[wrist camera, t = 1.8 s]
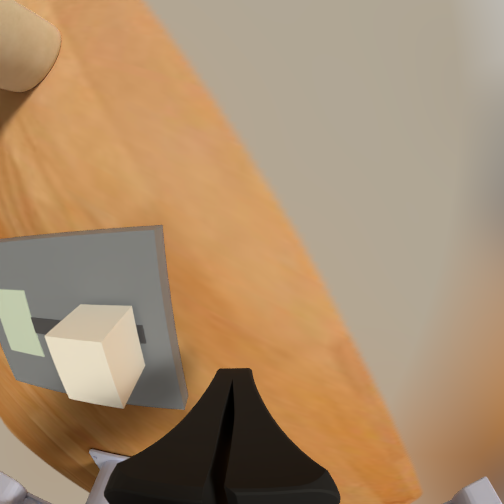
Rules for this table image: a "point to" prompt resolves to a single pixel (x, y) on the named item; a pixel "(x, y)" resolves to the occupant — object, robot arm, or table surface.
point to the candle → (25, 47)
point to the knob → (97, 354)
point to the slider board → (90, 302)
